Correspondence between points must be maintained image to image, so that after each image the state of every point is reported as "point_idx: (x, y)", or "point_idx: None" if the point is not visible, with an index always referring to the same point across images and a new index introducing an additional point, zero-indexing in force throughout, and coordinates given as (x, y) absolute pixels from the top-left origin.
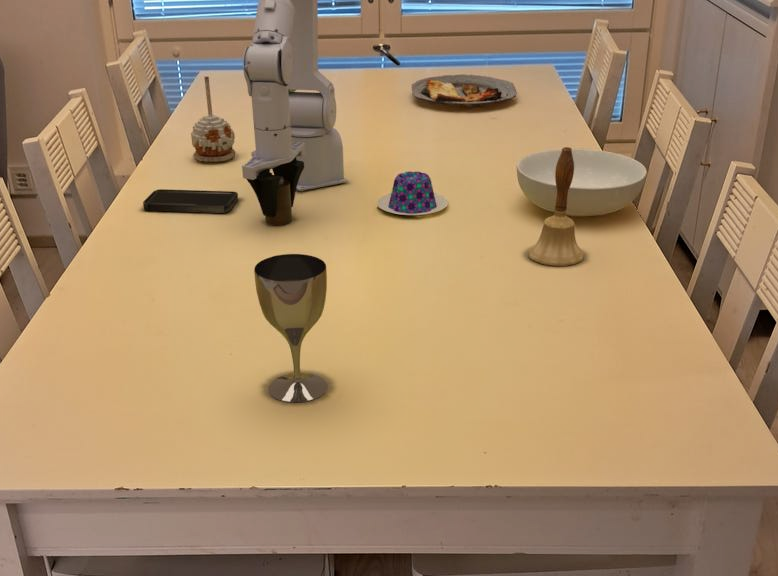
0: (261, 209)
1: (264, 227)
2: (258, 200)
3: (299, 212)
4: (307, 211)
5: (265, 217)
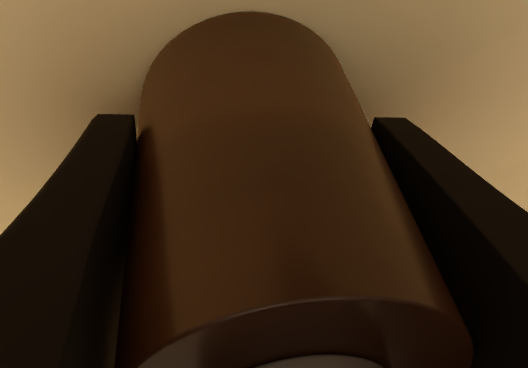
0: (78, 142)
1: (68, 93)
2: (29, 206)
3: (445, 136)
4: (469, 164)
5: (164, 68)
